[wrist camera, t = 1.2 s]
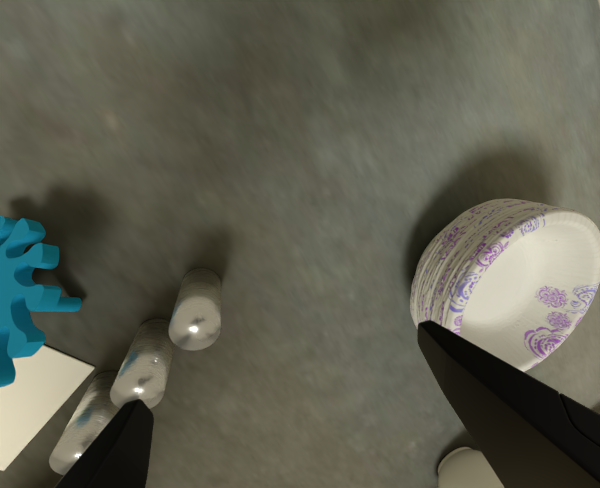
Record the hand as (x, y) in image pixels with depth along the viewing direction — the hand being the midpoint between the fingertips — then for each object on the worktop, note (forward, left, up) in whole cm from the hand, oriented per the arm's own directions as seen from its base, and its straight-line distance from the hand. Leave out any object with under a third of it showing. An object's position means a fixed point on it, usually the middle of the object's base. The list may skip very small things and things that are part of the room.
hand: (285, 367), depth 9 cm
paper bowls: (+11, -18, -15) cm, 26 cm away
